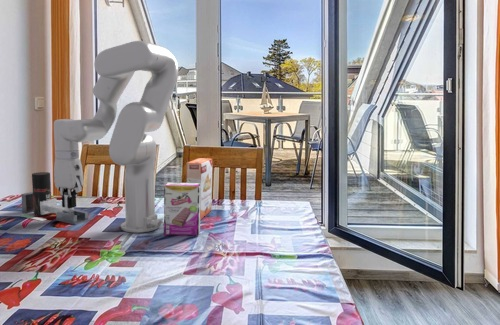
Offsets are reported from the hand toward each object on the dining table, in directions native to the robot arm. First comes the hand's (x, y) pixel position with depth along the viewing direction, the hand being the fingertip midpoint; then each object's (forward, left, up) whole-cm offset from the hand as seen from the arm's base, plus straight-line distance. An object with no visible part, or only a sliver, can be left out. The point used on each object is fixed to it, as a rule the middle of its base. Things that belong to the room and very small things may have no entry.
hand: (69, 206), depth 146 cm
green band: (+15, 0, -5) cm, 16 cm away
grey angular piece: (+6, 0, -5) cm, 7 cm away
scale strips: (+9, 0, -5) cm, 10 cm away
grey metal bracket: (-1, 0, -5) cm, 5 cm away
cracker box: (-35, -29, -5) cm, 46 cm away
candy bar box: (-43, -8, -5) cm, 44 cm away
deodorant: (+15, 0, -5) cm, 15 cm away
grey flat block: (+21, 0, -5) cm, 21 cm away
